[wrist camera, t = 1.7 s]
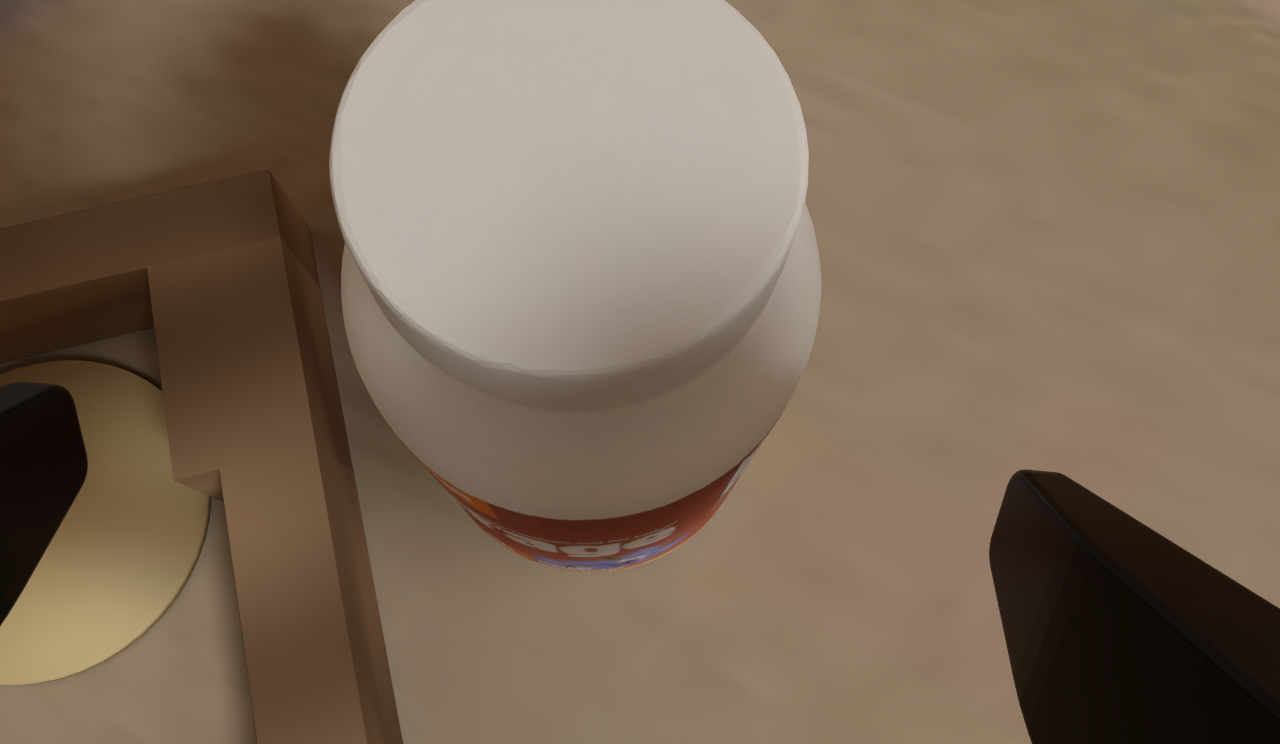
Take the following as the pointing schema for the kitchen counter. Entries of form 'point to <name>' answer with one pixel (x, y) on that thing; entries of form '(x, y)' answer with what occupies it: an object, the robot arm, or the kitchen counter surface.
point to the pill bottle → (577, 261)
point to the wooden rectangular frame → (200, 451)
